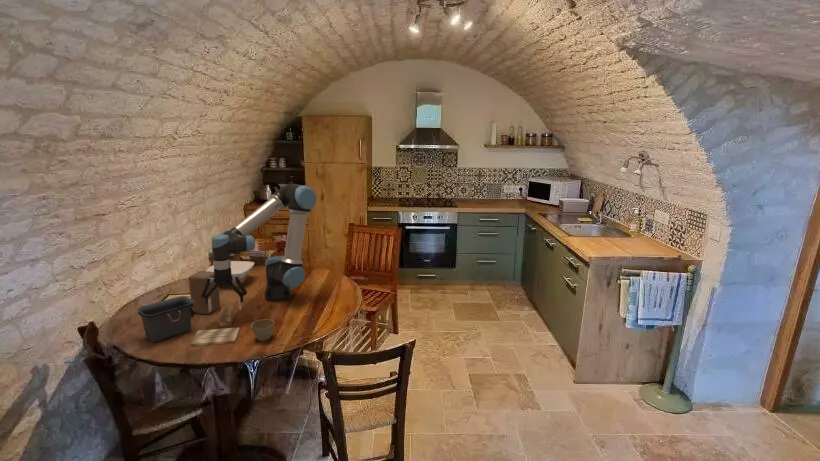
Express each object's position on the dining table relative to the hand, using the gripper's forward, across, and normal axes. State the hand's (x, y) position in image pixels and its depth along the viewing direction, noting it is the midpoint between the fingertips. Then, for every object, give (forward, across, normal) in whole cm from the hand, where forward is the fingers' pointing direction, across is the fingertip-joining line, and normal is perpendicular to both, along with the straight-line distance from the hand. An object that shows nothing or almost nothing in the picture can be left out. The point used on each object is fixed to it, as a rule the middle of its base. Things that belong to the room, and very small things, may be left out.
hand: (225, 309), depth 209 cm
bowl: (+7, +7, -56) cm, 57 cm away
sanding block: (+7, 0, 0) cm, 7 cm away
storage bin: (+8, +23, +8) cm, 25 cm away
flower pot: (+7, -19, +20) cm, 29 cm away
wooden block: (+7, +13, -17) cm, 23 cm away
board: (+7, +2, +15) cm, 17 cm away
